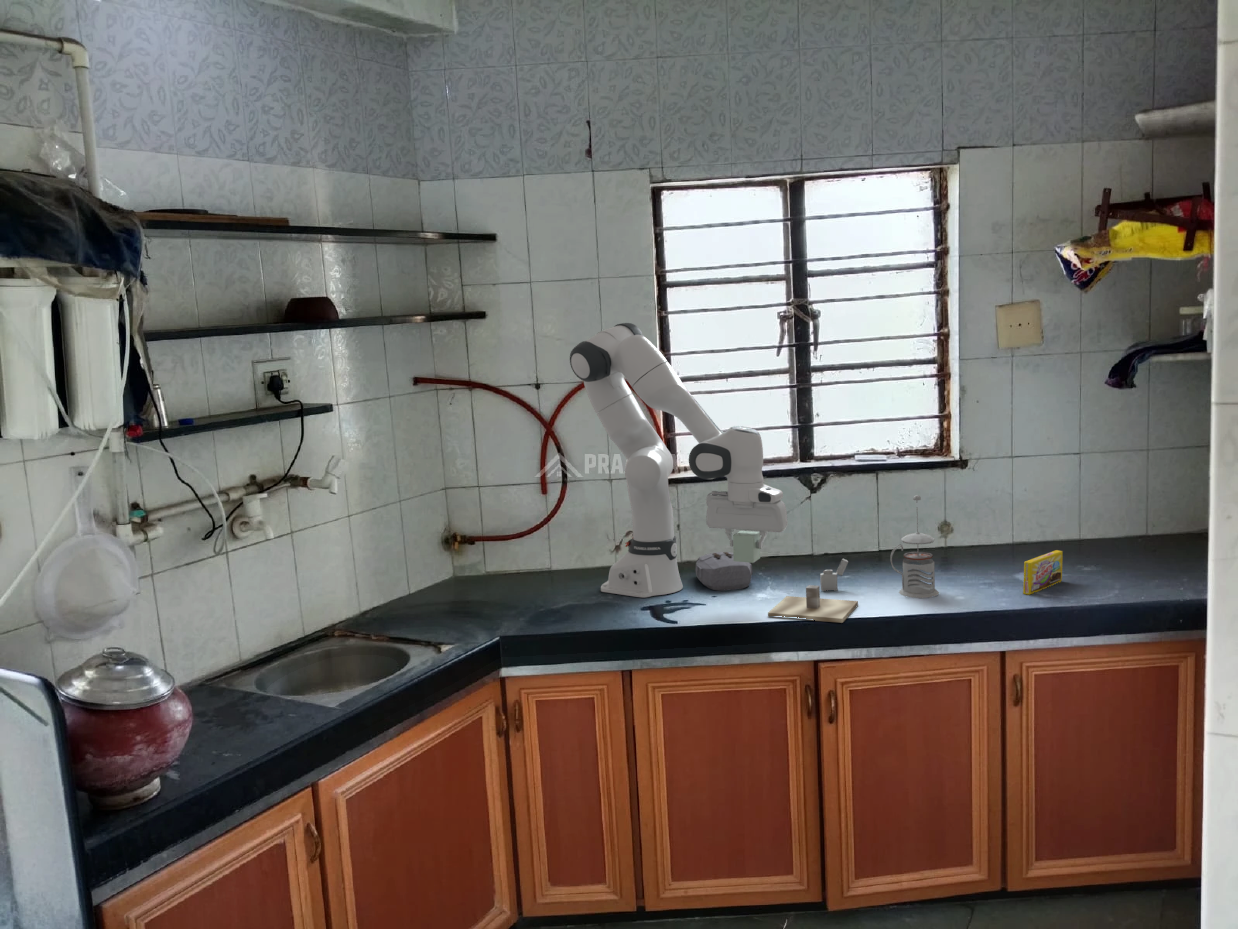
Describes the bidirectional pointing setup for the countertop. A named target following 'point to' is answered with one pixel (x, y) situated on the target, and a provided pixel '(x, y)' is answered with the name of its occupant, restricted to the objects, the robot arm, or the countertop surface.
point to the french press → (917, 567)
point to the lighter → (832, 577)
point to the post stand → (814, 607)
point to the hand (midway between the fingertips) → (746, 547)
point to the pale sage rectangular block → (746, 546)
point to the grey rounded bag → (723, 571)
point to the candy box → (1042, 572)
